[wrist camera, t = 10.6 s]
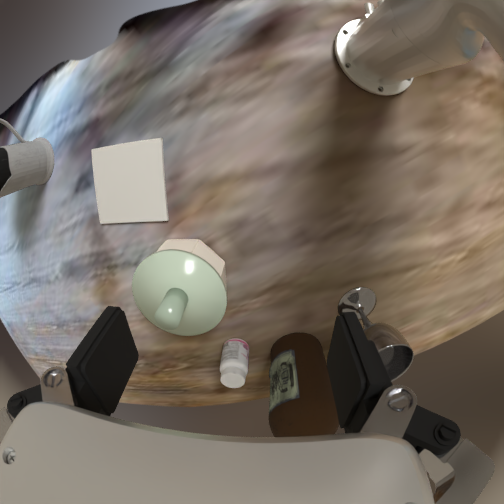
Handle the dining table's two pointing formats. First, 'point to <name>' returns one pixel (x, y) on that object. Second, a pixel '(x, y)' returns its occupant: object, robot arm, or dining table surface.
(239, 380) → the pill bottle
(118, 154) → the mat
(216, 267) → the bowl
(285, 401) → the olive oil
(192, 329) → the lid
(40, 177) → the glass holder
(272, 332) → the dining table surface
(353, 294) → the wine glass
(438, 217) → the dining table surface
